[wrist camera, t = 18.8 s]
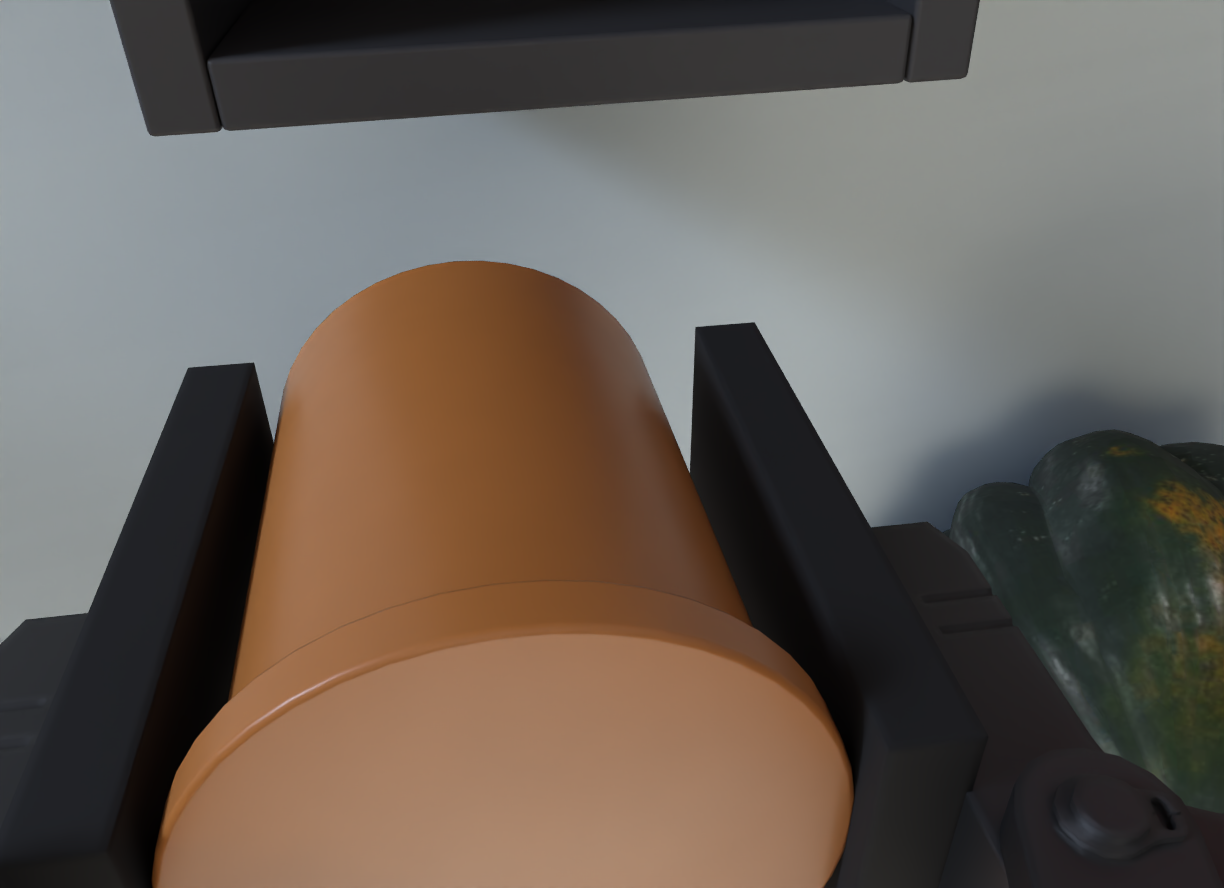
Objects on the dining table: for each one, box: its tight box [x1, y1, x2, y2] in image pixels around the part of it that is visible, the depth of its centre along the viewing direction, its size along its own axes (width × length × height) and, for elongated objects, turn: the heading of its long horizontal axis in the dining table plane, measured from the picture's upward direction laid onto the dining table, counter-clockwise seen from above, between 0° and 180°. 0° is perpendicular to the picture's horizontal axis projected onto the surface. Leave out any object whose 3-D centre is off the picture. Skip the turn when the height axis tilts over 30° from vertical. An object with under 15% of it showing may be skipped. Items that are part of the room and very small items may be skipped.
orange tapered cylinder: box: [151, 261, 854, 888], centre depth 10 cm, size 5×5×6 cm
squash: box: [943, 430, 1224, 814], centre depth 32 cm, size 14×15×15 cm
